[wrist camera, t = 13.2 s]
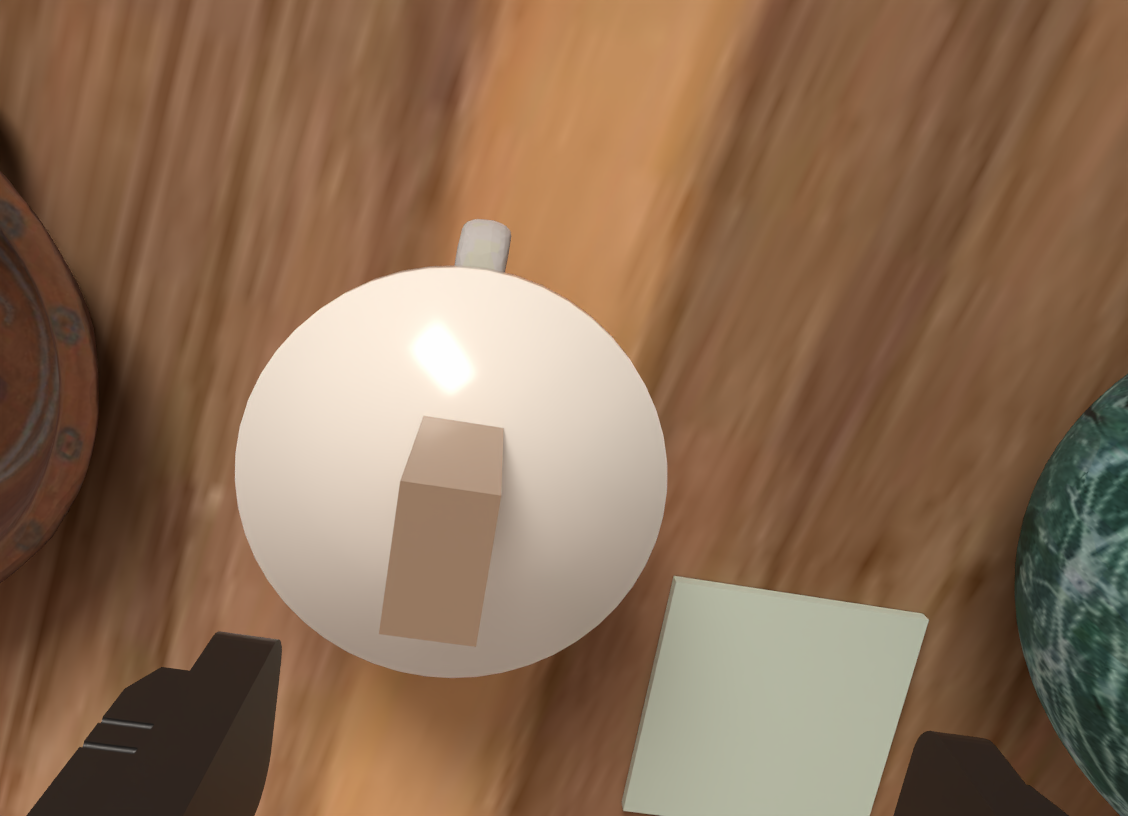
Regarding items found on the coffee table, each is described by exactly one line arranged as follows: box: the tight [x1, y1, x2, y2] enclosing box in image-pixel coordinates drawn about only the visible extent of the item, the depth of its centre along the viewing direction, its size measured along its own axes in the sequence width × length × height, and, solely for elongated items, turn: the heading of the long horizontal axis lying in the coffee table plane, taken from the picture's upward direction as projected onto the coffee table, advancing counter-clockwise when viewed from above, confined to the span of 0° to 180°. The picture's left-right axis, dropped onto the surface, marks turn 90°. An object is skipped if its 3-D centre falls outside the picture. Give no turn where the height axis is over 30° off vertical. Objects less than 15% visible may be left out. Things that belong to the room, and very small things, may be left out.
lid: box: [235, 265, 667, 678], centre depth 26 cm, size 13×13×7 cm
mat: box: [622, 576, 929, 816], centre depth 41 cm, size 11×11×1 cm
